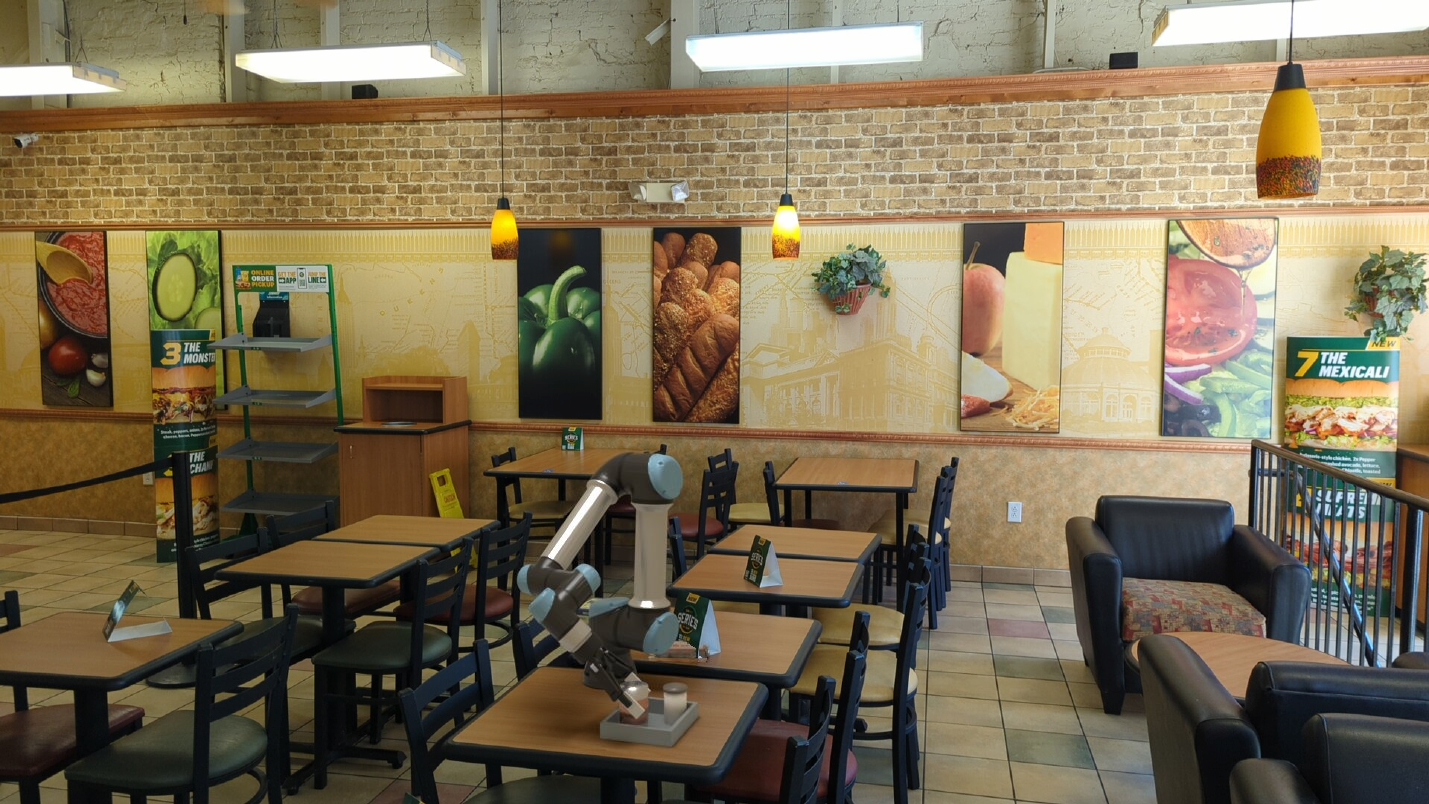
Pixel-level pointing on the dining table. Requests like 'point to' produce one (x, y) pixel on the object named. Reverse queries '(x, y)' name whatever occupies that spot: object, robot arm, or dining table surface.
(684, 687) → the cup lid
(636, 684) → the clear orange banded jar
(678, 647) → the packaged product
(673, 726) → the grey tray
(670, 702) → the capped white cylinder
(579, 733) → the dining table surface
